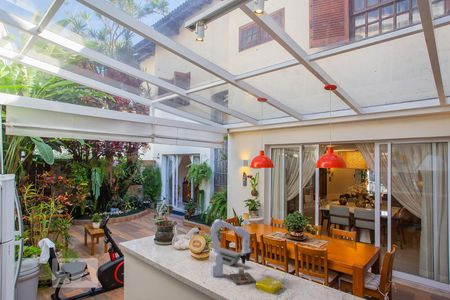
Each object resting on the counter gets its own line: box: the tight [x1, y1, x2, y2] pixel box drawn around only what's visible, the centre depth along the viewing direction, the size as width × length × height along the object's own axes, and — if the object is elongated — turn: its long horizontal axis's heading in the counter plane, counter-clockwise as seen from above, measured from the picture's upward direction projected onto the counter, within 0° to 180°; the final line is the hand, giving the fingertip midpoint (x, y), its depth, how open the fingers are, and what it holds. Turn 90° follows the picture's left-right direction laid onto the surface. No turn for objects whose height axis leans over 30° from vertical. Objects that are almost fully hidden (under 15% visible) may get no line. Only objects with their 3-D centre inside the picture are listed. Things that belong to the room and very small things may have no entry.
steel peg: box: [237, 266, 245, 277], centre depth 216 cm, size 4×4×7 cm
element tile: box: [255, 276, 283, 295], centre depth 198 cm, size 15×15×5 cm
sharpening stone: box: [219, 247, 241, 267], centre depth 247 cm, size 25×8×11 cm, turn 48°
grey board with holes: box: [229, 272, 257, 286], centre depth 212 cm, size 16×17×2 cm
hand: (245, 262), depth 223 cm, fingers open, 7 cm apart
